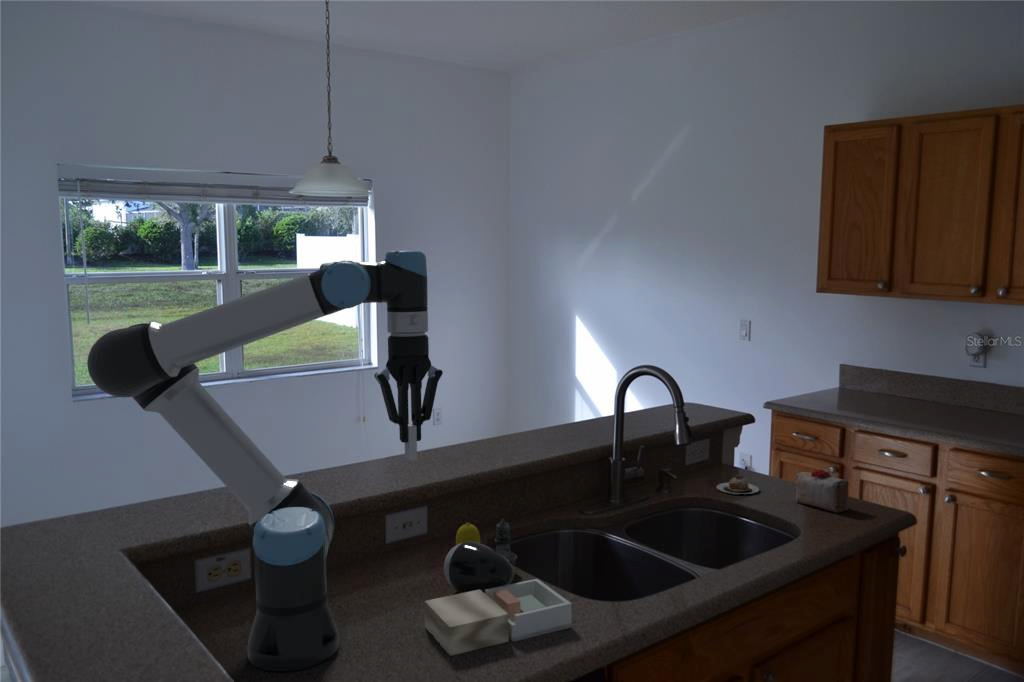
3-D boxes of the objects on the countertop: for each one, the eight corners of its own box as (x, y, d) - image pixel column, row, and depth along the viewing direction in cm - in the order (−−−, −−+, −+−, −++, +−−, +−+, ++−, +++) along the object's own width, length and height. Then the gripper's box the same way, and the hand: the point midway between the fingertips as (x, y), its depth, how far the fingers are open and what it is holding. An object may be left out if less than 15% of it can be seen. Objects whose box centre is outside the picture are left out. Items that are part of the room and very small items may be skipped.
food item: (789, 502, 217) (790, 467, 216) (807, 497, 222) (808, 463, 221) (835, 515, 206) (836, 477, 205) (852, 509, 211) (853, 473, 210)
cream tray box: (450, 655, 133) (449, 627, 133) (425, 627, 144) (424, 601, 144) (508, 641, 138) (508, 613, 138) (480, 615, 149) (479, 589, 149)
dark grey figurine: (484, 575, 168) (483, 520, 167) (498, 566, 173) (497, 512, 172) (509, 580, 166) (508, 524, 164) (522, 570, 171) (521, 516, 170)
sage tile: (545, 606, 145) (546, 620, 145) (531, 594, 150) (531, 607, 150) (523, 611, 143) (524, 625, 143) (509, 599, 148) (509, 612, 148)
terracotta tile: (508, 604, 141) (520, 601, 142) (493, 591, 147) (505, 589, 148) (508, 628, 142) (520, 625, 143) (493, 615, 147) (506, 612, 148)
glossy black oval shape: (445, 531, 160) (501, 540, 151) (476, 548, 167) (532, 557, 157) (428, 581, 156) (485, 594, 147) (461, 596, 163) (518, 609, 153)
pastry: (761, 498, 223) (761, 482, 222) (717, 496, 226) (717, 480, 225) (757, 487, 235) (757, 471, 234) (715, 485, 237) (716, 469, 237)
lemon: (452, 560, 177) (452, 526, 176) (460, 552, 182) (459, 518, 181) (476, 562, 176) (476, 527, 175) (483, 553, 181) (482, 519, 180)
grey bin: (512, 641, 138) (512, 617, 138) (481, 613, 150) (481, 590, 149) (571, 627, 143) (571, 603, 143) (537, 600, 155) (537, 578, 155)
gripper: (380, 337, 141) (383, 467, 143) (448, 333, 147) (450, 458, 149) (368, 334, 148) (371, 458, 150) (433, 331, 153) (436, 450, 156)
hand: (411, 458), depth 149 cm, fingers closed
